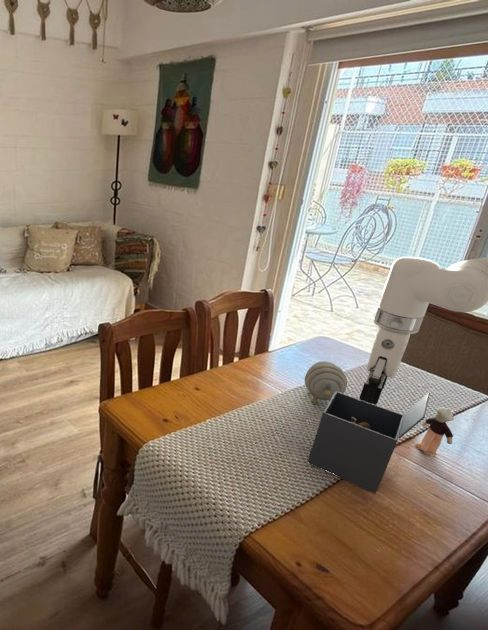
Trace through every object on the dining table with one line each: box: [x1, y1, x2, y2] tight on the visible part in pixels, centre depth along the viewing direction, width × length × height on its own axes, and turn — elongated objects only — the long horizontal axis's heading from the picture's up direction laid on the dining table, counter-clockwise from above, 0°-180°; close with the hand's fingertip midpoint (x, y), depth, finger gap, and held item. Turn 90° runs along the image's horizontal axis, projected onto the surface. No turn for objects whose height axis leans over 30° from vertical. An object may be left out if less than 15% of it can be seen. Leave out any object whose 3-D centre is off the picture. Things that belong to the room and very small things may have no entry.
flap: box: [398, 392, 431, 440], centre depth 91 cm, size 7×12×1 cm
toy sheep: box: [304, 360, 348, 405], centre depth 125 cm, size 11×17×11 cm, turn 160°
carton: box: [307, 391, 405, 495], centre depth 100 cm, size 14×12×14 cm
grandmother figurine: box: [414, 406, 455, 458], centre depth 105 cm, size 8×4×13 cm, turn 17°
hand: (371, 393), depth 95 cm, fingers open, 7 cm apart
